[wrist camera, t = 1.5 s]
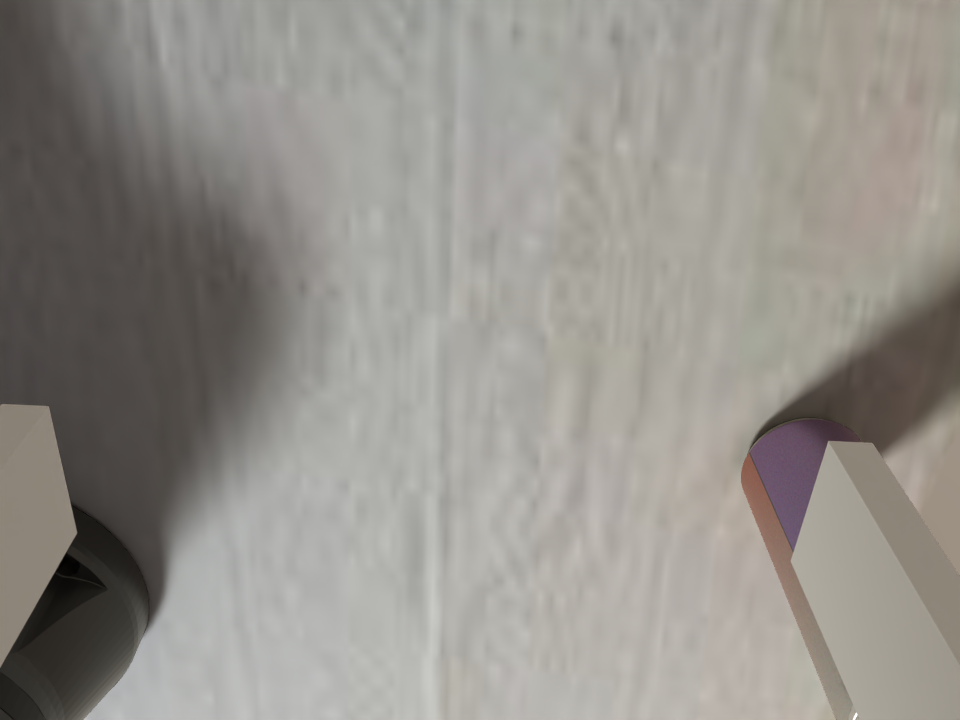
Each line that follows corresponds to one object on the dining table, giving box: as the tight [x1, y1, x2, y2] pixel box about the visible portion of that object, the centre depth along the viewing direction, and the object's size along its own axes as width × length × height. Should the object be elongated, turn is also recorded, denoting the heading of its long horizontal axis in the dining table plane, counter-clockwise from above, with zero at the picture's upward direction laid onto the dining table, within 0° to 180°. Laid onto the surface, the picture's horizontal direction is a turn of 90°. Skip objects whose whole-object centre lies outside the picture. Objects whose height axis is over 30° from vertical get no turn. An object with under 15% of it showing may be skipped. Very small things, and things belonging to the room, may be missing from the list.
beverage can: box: [741, 418, 861, 720], centre depth 37 cm, size 6×6×15 cm
